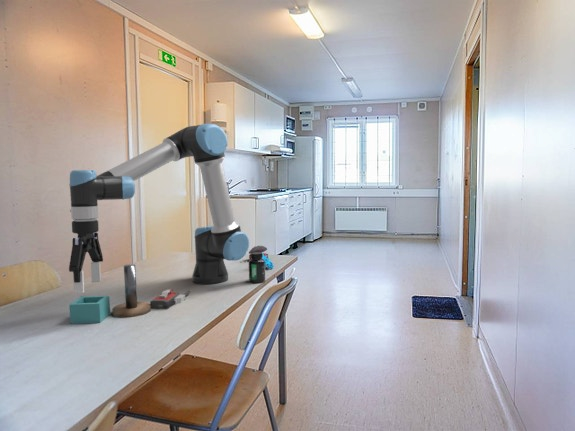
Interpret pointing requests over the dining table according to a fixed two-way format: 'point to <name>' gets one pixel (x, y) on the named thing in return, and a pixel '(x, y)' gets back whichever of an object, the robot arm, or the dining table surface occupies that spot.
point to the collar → (89, 309)
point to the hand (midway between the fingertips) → (88, 287)
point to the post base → (131, 310)
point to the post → (130, 286)
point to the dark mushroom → (258, 250)
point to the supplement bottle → (256, 268)
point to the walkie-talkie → (167, 299)
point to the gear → (267, 262)
